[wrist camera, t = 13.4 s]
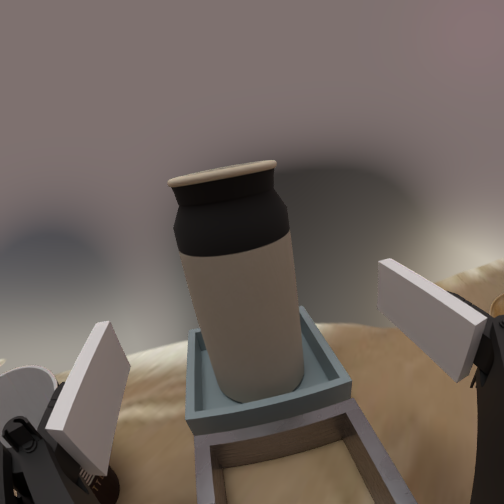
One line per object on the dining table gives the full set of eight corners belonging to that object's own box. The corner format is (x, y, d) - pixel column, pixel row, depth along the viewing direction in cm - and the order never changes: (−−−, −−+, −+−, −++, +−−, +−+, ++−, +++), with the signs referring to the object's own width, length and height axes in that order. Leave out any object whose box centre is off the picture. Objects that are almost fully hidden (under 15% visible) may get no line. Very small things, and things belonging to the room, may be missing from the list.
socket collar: (224, 586, 6) (206, 584, 5) (208, 459, 17) (194, 436, 16) (409, 535, 8) (428, 522, 6) (350, 425, 18) (353, 397, 17)
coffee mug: (100, 436, 19) (42, 350, 16) (153, 496, 13) (76, 414, 10) (16, 486, 11) (-58, 408, 7) (50, 557, 5) (-57, 487, 2)
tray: (198, 443, 18) (185, 419, 17) (196, 353, 30) (188, 330, 29) (349, 407, 20) (352, 380, 19) (304, 330, 31) (302, 305, 30)
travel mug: (321, 364, 24) (303, 156, 19) (263, 421, 19) (209, 173, 13) (259, 339, 30) (227, 166, 24) (201, 380, 25) (144, 185, 19)
